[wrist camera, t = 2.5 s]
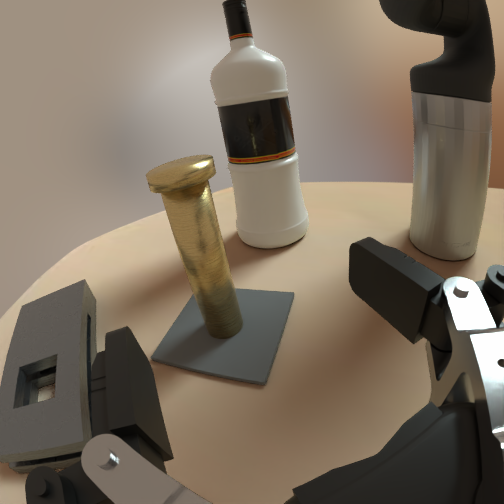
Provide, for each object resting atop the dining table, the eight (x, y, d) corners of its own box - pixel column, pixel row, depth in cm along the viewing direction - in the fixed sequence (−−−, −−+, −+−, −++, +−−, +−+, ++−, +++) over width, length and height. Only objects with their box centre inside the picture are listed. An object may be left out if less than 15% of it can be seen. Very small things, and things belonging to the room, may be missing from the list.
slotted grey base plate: (34, 325, 29) (22, 305, 27) (96, 300, 32) (84, 279, 30) (18, 473, 12) (-8, 456, 10) (109, 459, 15) (83, 440, 13)
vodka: (243, 258, 34) (189, -6, 19) (236, 225, 42) (193, 17, 27) (319, 242, 35) (283, -17, 19) (298, 212, 43) (266, 7, 27)
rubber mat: (200, 288, 31) (199, 285, 30) (294, 295, 27) (293, 292, 27) (152, 360, 23) (150, 357, 23) (265, 385, 19) (264, 382, 19)
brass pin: (212, 305, 27) (169, 159, 20) (256, 310, 26) (223, 151, 19) (192, 339, 24) (132, 181, 17) (240, 348, 22) (192, 172, 15)
